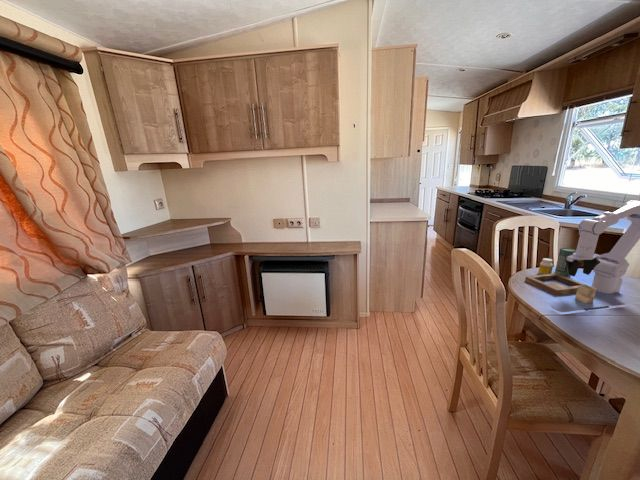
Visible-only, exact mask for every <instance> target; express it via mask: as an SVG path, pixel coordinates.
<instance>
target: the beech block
mask: <svg viewBox="0 0 640 480" xmlns="http://www.w3.org/2000/svg"><path fill="white" fill-rule="evenodd" d="M591 286H592V285H591ZM591 286H590V285H587V284H585V285H580V286H578V289H577V293H575V296H574V297H575V298H574V299H575V300H577V301H579V302H581V303H583V304H588V303H589V304H590V303H594V299H595V296H596V292H597V291H596V288H593V287H591Z"/></svg>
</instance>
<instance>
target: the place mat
mask: <svg viewBox="0 0 640 480" xmlns="http://www.w3.org/2000/svg"><path fill="white" fill-rule="evenodd" d="M607 308H608V309H609V308H610V306H609V305H604V306H596V307H588V308H584V310H585V311H594V310H602V309H607Z"/></svg>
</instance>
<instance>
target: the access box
mask: <svg viewBox="0 0 640 480" xmlns="http://www.w3.org/2000/svg"><path fill="white" fill-rule="evenodd" d="M554 279H555V280H558V281H561V282H564V283H565V284H568V285H570V286H565V285H563V284H560V283H558V282H555V281H551V282H544V281H545V280H547V281H548V280H554ZM524 281H525V282H527V283H528V284H530V285H533V286H534V287H537V288H539V289H541V290H544V291H545V292H547V293H550V294H553V295H555V296H562V295H569V294H576V293H577V289H578V286H580V285H586V284H585V283H583V282H580V281H577V280H575V279H573V278H569V277H568V276H562V275H560V274H557V273H555V272H554V273H551V274H544V275H540V274H537V275H535V274H534V275H527V276H525V279H524Z"/></svg>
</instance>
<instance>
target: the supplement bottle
mask: <svg viewBox="0 0 640 480" xmlns="http://www.w3.org/2000/svg"><path fill="white" fill-rule="evenodd" d="M553 267H554V265H553V259H552V258H547V257H545V258H542V260H541V262H540V264H539V268H538V272H537V273H538V275H544V274H553V273H552V272H553V269H554V268H553Z"/></svg>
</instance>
